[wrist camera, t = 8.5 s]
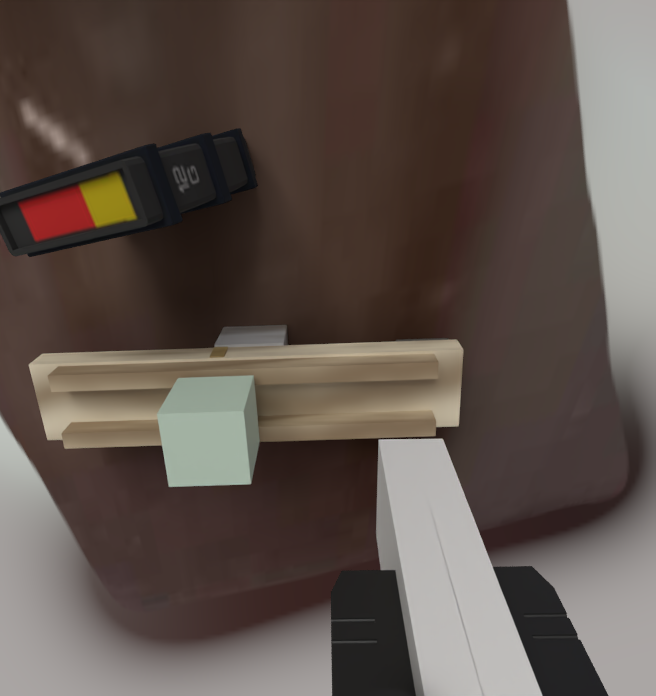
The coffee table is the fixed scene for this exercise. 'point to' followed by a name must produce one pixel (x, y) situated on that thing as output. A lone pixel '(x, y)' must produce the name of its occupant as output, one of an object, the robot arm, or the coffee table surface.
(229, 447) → the block
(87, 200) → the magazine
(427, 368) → the beam
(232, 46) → the coffee table surface
